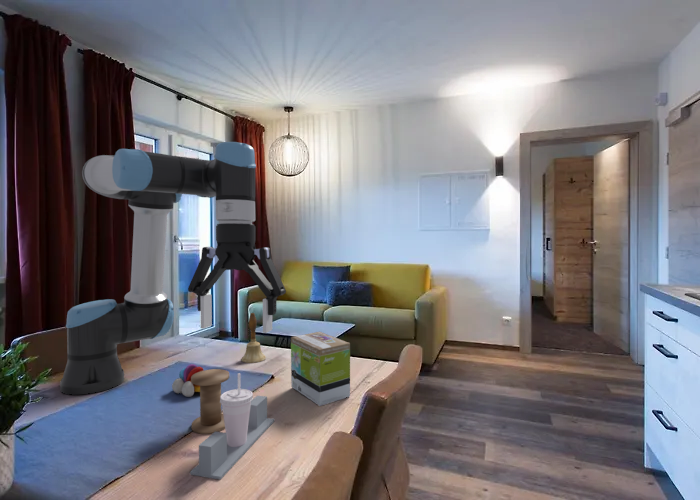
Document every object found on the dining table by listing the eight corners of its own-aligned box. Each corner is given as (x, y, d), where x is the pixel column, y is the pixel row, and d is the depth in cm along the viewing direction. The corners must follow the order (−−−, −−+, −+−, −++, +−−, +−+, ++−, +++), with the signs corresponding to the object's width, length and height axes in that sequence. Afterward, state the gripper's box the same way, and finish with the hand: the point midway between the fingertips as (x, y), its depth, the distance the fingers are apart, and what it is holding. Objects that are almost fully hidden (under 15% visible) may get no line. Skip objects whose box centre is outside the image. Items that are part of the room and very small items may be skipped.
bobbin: (183, 431, 84) (183, 380, 83) (205, 414, 92) (205, 367, 91) (216, 435, 82) (216, 383, 82) (236, 418, 90) (236, 370, 89)
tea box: (289, 388, 108) (289, 335, 107) (320, 380, 114) (320, 330, 113) (319, 407, 96) (319, 348, 95) (351, 397, 102) (351, 341, 101)
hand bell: (244, 364, 128) (244, 316, 127) (238, 357, 135) (238, 312, 135) (269, 360, 132) (268, 313, 131) (261, 354, 139) (261, 309, 139)
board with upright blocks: (190, 474, 69) (189, 444, 68) (250, 418, 90) (250, 394, 90) (220, 479, 67) (220, 448, 67) (274, 421, 89) (274, 397, 88)
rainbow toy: (190, 401, 100) (190, 373, 99) (167, 393, 105) (167, 366, 105) (217, 390, 107) (217, 363, 107) (195, 383, 112) (194, 358, 112)
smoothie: (244, 452, 75) (243, 380, 74) (213, 448, 76) (213, 378, 76) (258, 435, 81) (258, 369, 81) (230, 432, 82) (229, 367, 82)
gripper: (168, 222, 76) (169, 329, 77) (287, 222, 71) (287, 338, 71) (192, 223, 84) (193, 321, 84) (301, 223, 78) (301, 328, 79)
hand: (236, 329), depth 78 cm, fingers open, 13 cm apart
